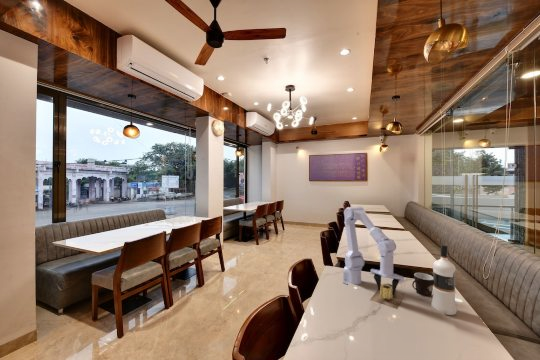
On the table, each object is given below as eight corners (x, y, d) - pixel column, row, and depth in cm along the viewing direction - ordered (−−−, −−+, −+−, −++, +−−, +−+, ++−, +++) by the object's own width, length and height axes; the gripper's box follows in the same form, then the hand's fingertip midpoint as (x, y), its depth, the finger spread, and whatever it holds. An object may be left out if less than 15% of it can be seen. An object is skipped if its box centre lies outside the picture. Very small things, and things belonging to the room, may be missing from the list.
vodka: (436, 302, 112) (437, 241, 112) (459, 311, 105) (460, 246, 104) (427, 308, 107) (428, 244, 107) (451, 318, 99) (452, 249, 99)
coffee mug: (427, 291, 123) (427, 273, 123) (437, 300, 114) (438, 280, 114) (404, 290, 124) (405, 272, 124) (413, 299, 116) (413, 279, 115)
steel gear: (384, 296, 116) (384, 287, 116) (382, 291, 121) (382, 282, 121) (396, 298, 114) (396, 289, 114) (394, 292, 119) (394, 284, 119)
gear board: (369, 302, 113) (369, 291, 112) (380, 288, 126) (380, 278, 126) (397, 311, 105) (397, 299, 105) (405, 296, 119) (405, 285, 118)
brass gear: (378, 295, 113) (378, 286, 113) (382, 291, 117) (382, 283, 117) (390, 300, 109) (390, 291, 109) (394, 296, 113) (394, 287, 113)
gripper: (368, 263, 115) (368, 290, 115) (401, 270, 105) (401, 300, 105) (373, 259, 120) (372, 285, 120) (404, 266, 111) (404, 294, 111)
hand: (386, 291), depth 113 cm, fingers closed on brass gear, 6 cm apart
